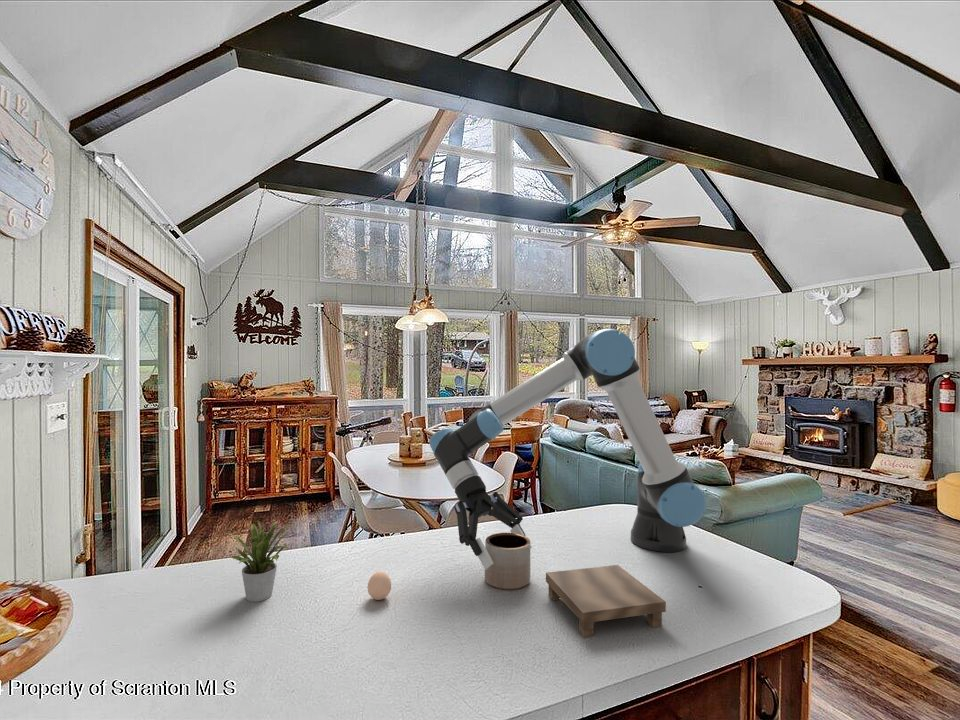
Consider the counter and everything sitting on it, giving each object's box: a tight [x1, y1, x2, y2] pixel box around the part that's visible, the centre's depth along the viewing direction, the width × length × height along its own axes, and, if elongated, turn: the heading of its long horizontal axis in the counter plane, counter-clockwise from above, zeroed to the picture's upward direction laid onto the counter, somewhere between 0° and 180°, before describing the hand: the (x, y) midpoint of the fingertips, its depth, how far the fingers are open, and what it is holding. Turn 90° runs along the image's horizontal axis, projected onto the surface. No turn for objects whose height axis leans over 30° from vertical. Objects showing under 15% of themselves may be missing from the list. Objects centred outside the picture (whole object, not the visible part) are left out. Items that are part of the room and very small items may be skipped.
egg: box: [367, 570, 392, 601], centre depth 110 cm, size 5×5×6 cm
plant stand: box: [545, 564, 667, 638], centre depth 106 cm, size 18×18×5 cm
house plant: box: [226, 519, 296, 603], centre depth 110 cm, size 14×14×16 cm
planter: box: [484, 532, 531, 591], centre depth 120 cm, size 11×11×10 cm
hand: (509, 558), depth 119 cm, fingers open, 13 cm apart
